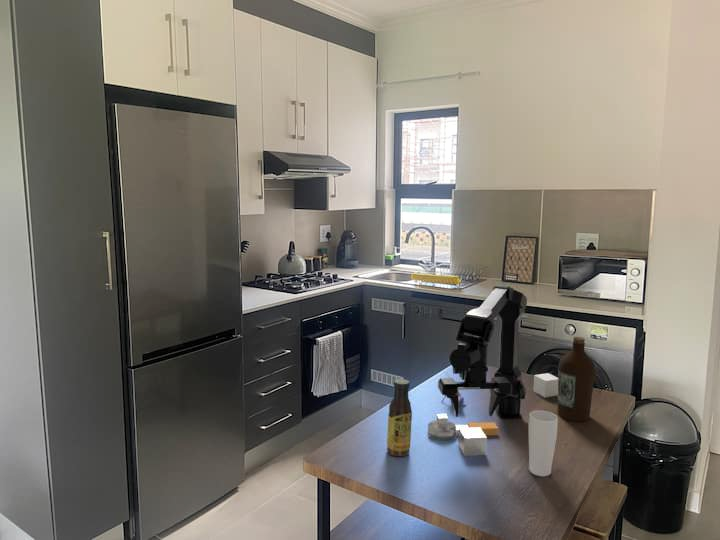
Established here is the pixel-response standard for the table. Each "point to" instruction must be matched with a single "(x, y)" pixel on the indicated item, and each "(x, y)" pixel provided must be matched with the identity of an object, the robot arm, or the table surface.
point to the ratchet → (456, 428)
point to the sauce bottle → (399, 420)
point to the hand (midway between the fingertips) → (473, 416)
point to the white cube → (545, 385)
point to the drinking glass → (542, 441)
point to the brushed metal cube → (472, 441)
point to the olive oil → (575, 383)
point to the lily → (457, 393)
